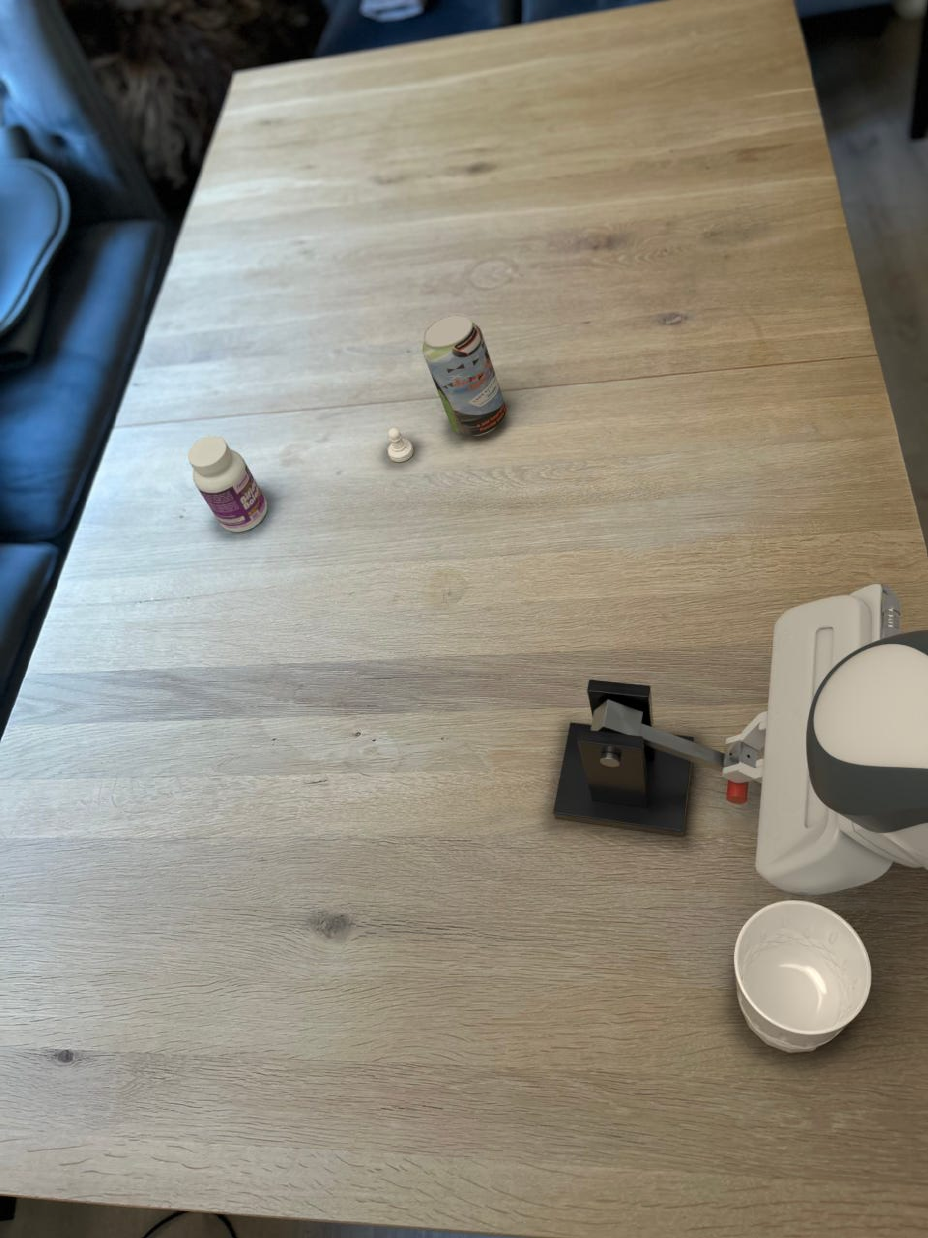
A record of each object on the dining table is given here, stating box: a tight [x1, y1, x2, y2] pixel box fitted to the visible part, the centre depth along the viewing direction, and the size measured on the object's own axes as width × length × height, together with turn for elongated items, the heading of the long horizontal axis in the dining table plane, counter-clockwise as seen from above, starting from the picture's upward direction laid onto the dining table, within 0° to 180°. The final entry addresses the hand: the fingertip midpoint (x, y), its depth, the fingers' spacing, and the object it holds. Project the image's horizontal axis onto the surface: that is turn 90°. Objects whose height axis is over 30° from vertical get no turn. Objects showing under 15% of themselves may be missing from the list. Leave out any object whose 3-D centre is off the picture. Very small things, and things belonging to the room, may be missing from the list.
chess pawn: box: [387, 427, 414, 463], centre depth 102 cm, size 3×3×4 cm
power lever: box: [591, 699, 750, 805], centre depth 72 cm, size 12×5×2 cm, turn 77°
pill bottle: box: [187, 435, 268, 533], centre depth 99 cm, size 5×5×10 cm
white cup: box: [733, 899, 872, 1054], centre depth 64 cm, size 8×8×10 cm
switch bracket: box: [552, 679, 695, 838], centre depth 74 cm, size 10×8×12 cm
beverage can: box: [422, 313, 508, 437], centre depth 99 cm, size 6×7×12 cm
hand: (729, 761), depth 72 cm, fingers closed, pressing on power lever
